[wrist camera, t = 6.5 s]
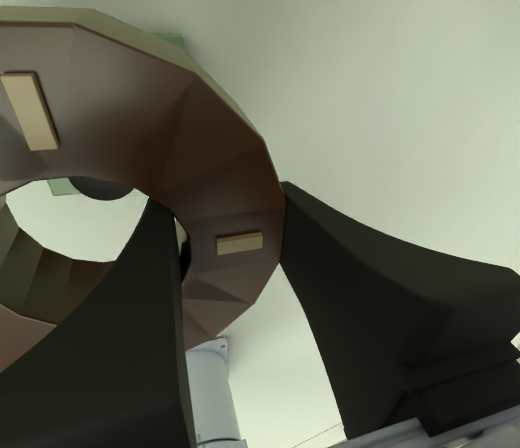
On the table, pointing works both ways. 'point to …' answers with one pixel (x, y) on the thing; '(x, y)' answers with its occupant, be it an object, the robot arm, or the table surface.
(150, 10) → the table surface
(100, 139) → the clock ring
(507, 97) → the table surface
